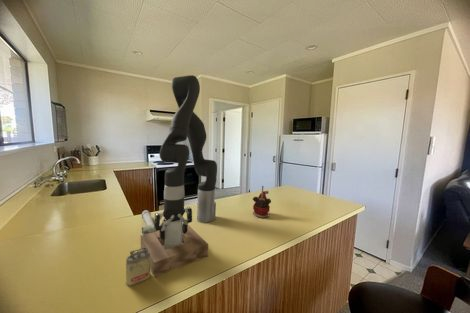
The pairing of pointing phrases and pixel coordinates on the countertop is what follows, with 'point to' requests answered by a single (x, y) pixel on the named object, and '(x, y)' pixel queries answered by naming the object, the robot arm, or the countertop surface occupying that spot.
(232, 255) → the countertop surface
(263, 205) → the mouse candy apple
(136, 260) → the beige logo box
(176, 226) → the skincare box
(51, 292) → the countertop surface
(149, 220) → the white flashlight
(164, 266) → the holder block
